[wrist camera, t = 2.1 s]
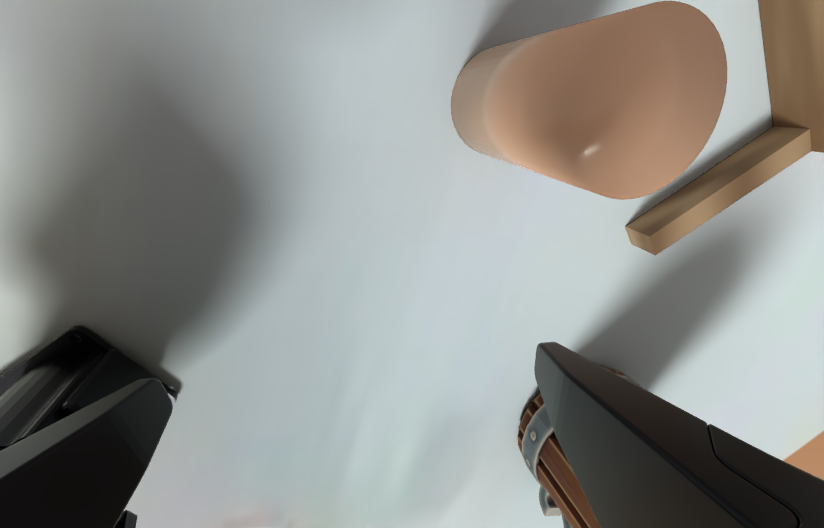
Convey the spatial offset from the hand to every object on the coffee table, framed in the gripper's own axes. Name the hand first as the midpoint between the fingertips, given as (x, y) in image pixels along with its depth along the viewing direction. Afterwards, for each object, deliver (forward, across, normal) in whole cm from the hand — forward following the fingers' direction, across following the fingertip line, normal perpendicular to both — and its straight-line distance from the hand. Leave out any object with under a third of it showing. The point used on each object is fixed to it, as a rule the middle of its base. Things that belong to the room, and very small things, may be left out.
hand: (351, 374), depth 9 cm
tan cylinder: (+14, +7, +4) cm, 16 cm away
